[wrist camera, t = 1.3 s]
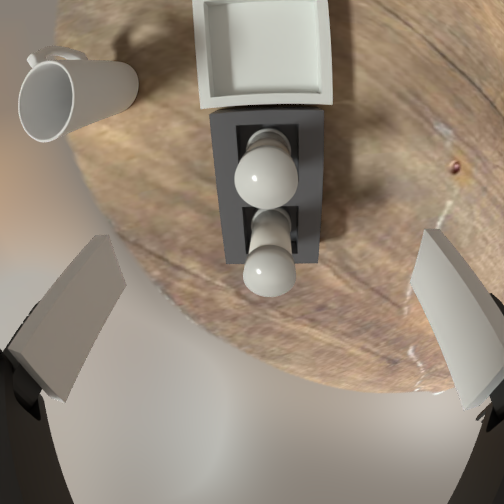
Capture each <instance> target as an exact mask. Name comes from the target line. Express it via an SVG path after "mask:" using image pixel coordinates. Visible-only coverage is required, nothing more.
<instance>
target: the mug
mask: <svg viewBox="0 0 504 504" xmlns="http://www.w3.org/2000/svg"><path fill="white" fill-rule="evenodd" d="M50 55H56V56H61V57H64V58H66V59H68V60H48V61H47V60H46V57H48V56H50ZM27 61H28V63H29V64H30V66H31V67H33V69H32V70H31V71H30V72H29V73H28V75H27V76H26V78H25V80H24V82H23V84H22V87H21V90H20V94H19V102H18V109H19V117H20V120H21V123H22V125H23V127H24V129H25V131H26V132H27V134H28V135H29V136H30V137H32V138H33V139H35V140H37V141H40V142H49V141H52V140H54V139H56V138H58V137H61V136H63V135H66V134H68V133H70V132H72V131H75V130H77V129H79V128H82V127H84V126H87V125H89V124H92V123H94V122H97V121H99V120H102V119H105V118H108V117H110V116H113V115H116V114H118V113H121V112H123V111H124V110H126V109H127V108H128V107H129V106H130V105H131V104H132V103H133V102H134V100H135V98H136V96H137V93H138V87H139V82H138V77H137V74H136V72H135V70H134V69H133V68H132V67H131V66H130V65H128V64H126V63H123V62H117V61H105V60H88V58H87V57H86V55H85V54H84V53H83V52H80V51H77V50H74V49H70V48H67V47H62V46H47V47H44V48H42V49H40V50H39V51H37V52H36V53H32V54H31V55H30V56H29V57H28V59H27Z"/></svg>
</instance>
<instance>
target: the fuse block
mask: <svg viewBox="0 0 504 504" xmlns="http://www.w3.org/2000/svg"><path fill="white" fill-rule="evenodd" d="M209 117H210V127H211V137H212V147H213V157H214V166H215V175H216V184H217V193H218V202H219V210H220V219H221V227H222V235H223V243H224V251H225V258H226V264H245V261H246V258H247V256H248V255H249V249H250V242H251V235H252V230H251V222H252V216H253V213H254V211H255V210H256V207H254V206H251V205H250V204H248V203H247V202H245V201H244V200H243V199H242V198H241V197H240V195H239V194H238V192H237V190H236V187H235V179H234V177H235V172H236V169H237V166H238V164H239V162H240V160H241V158H242V157H243V155H244V154H245V153H246V146H247V143H248V140H249V138H250V137H251V135H252V134H253V133H254V132H255V131H257V130H259V129H261V128H264V127H272V128H276V129H279V130H280V131H282V132H283V133H284V134H285V135H286V136H287V138H288V140H289V142H290V146H291V158H292V159H293V161H294V163H295V166H296V170H297V174H298V186H297V189H296V192H295V194H294V195H293V197H292V198H291V199H290V200H289V201H288V202H287V203H286V204H284V205H282V206H284V207H285V208H286V209H287V210H288V212H289V214H290V217H291V231H290V237H291V249H292V256H293V258H294V261H295V263H318V255H319V242H320V228H321V211H322V191H323V162H324V110H322V109H320V108H318V107H256V108H238V109H225V110H217V111H215V112H213V113H211V114H209Z"/></svg>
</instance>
